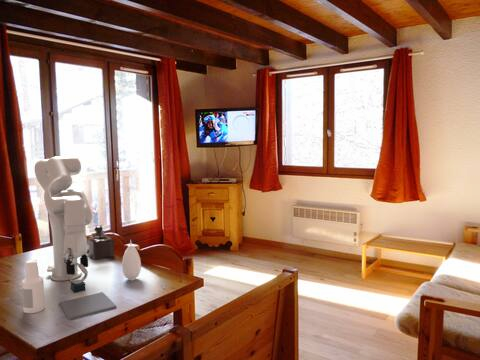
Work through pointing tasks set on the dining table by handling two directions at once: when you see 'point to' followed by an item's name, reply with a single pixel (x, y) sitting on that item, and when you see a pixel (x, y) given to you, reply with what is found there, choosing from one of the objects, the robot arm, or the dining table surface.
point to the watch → (78, 284)
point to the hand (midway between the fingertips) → (77, 270)
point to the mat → (86, 305)
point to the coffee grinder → (100, 245)
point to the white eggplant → (131, 263)
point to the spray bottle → (33, 289)
